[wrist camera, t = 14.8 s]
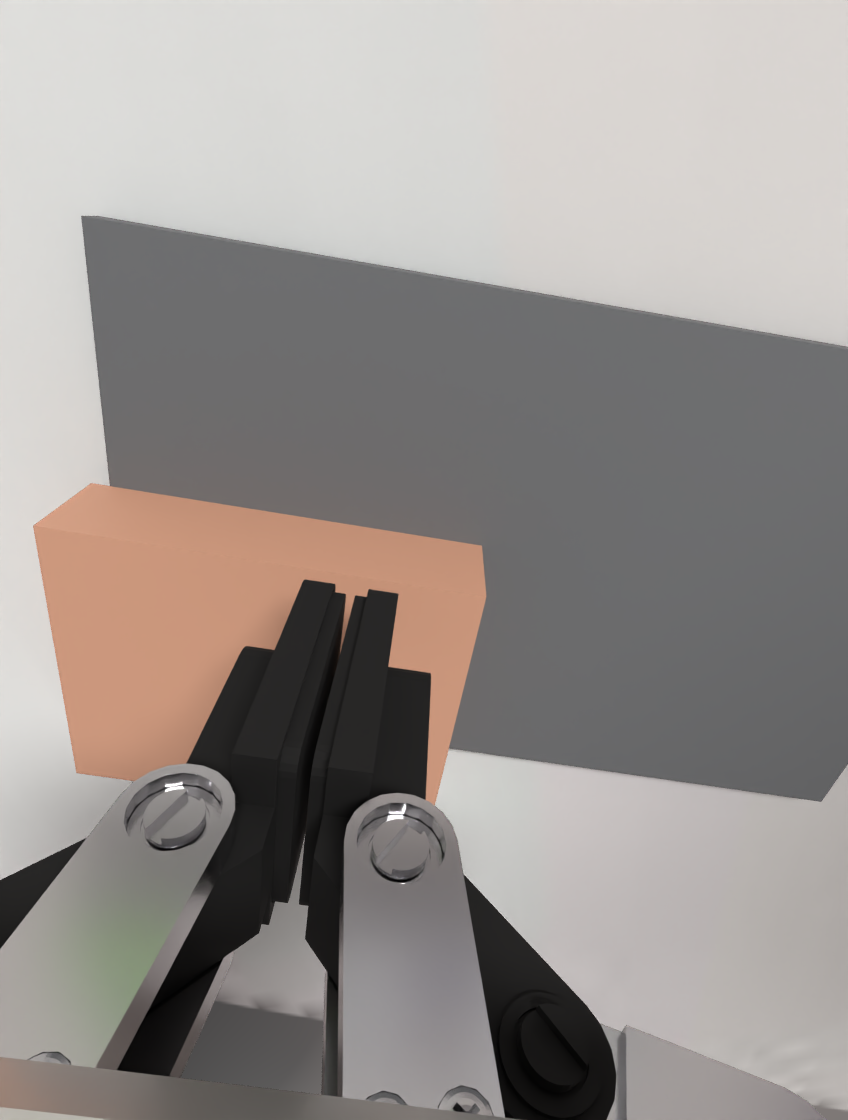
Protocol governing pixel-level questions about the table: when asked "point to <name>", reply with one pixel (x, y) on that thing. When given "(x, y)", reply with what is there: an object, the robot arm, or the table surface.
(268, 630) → the slab
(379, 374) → the mat
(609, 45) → the table surface
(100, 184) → the table surface
